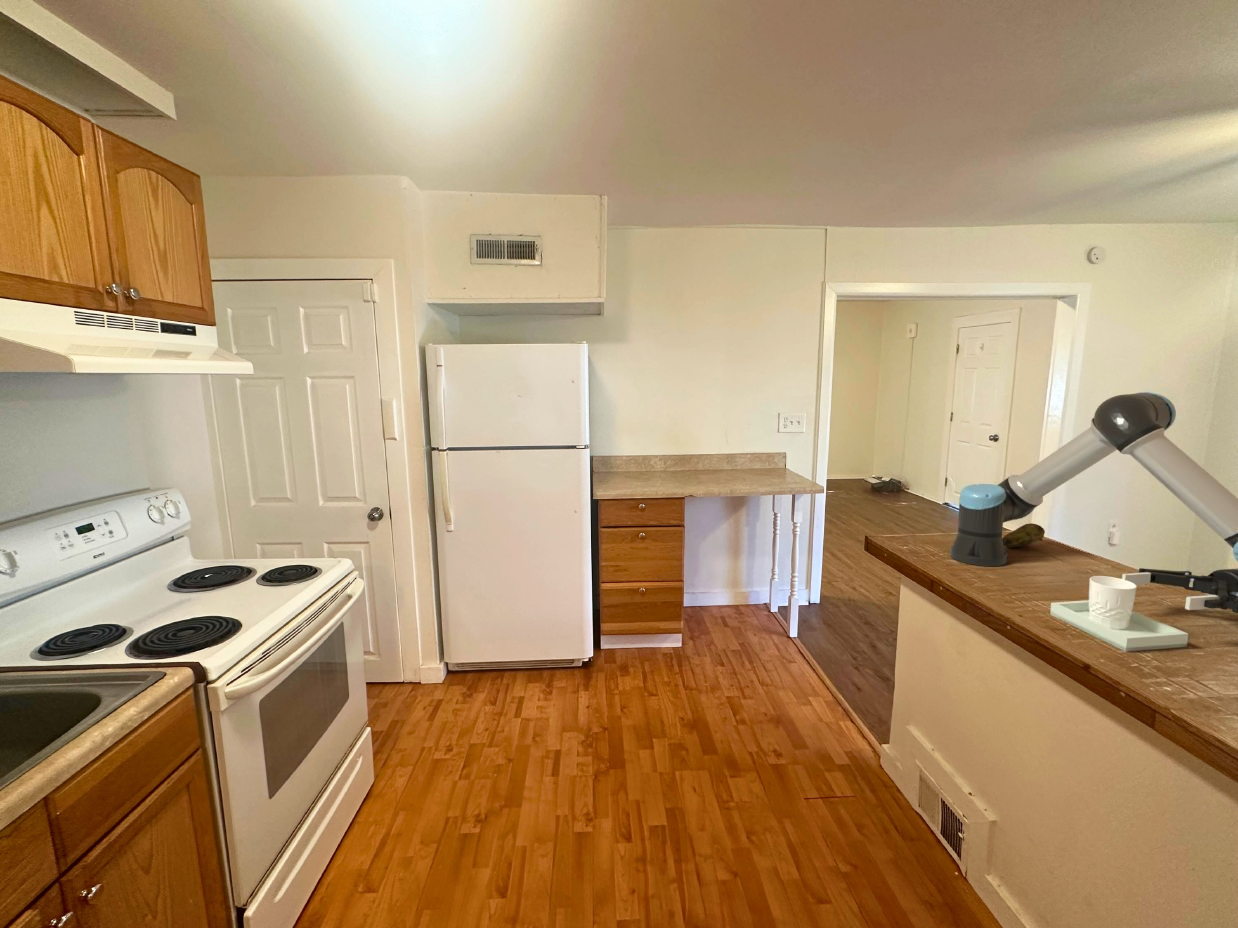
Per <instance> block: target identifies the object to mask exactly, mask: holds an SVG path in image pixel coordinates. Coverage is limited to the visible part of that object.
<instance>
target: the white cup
mask: <svg viewBox="0 0 1238 928" xmlns="http://www.w3.org/2000/svg"><path fill="white" fill-rule="evenodd" d="M1088 585H1089V586H1088V587H1089V588H1088V600H1089V619H1092V620H1094V621H1096V622H1098V623H1100V624H1102V625H1104V626H1107V627H1109V628H1111V629H1126V628H1128V627H1129V621H1130V616H1131V614H1132V611H1133V609H1134V604H1135V598H1136V593H1137V589H1138V588H1137V587H1138V585H1135V584H1134V583H1132V582H1129V581H1127V580H1123V579H1122V578H1117V577H1114V576H1106V575H1105V576H1104V575H1093V576H1091V577H1090V578H1089V583H1088Z"/></svg>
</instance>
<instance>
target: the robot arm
mask: <svg viewBox="0 0 1238 928" xmlns="http://www.w3.org/2000/svg"><path fill="white" fill-rule="evenodd" d="M1176 415H1177V411H1176V408H1175V405H1174V403H1172V401H1171V400H1170V399H1168V397H1166V396H1164V395H1162V394H1158V393H1154V392H1149V391H1143V392H1142V391H1141V392H1136V393H1129V394H1128V393H1127V394H1119V395H1115V396H1112V397H1109V398H1107V399H1106V400H1104V401H1102V402H1101V403H1100V405H1098V406H1097V408H1096V410H1095V412H1094V416H1093V418H1091V421H1090V427H1088V428H1087V429H1086V430H1083V432H1081V433H1080V434H1079V435H1076V437H1074V438H1073V439H1071V440H1070V441H1068V442H1067V443H1065V444H1064V445H1062V446H1061V447H1060V448H1057V450H1055V451H1054V452H1052V453H1051V454H1050V455H1047V457H1044V458H1043V459H1042V460H1040V461H1039V462H1037V463H1036V464H1035V465H1033V466H1031V467H1030V468H1029V469H1028V470H1026V471H1024V472H1023V473H1021V474H1020V475H1018V474H1011V475H1010V476H1008V477H1006V478H1005V479H1003V480H1002V481H1001V482H999V483H998V484H991V483H979V484H978V483H977V484H970V485H966V486H964V487H963V488H962V489H961V490H960V496H959V499H958V501H959V502H958V503H959V504H958V506H959V507H958V521H957V522H958V524H957V533H956V535H955V538H954V540H953V542H952V545H951V546H950V549H949V556H950V557H951V558H952V559H953V560H955V561H957V562H961V563H963V564H969V565H974V566H980V567H981V566H982V567H1001V566H1004V565H1007V563H1008V553H1007V551H1006V546H1004V543H1003V540H1002V538H1003V527H1004V523H1007V522H1010V521H1016V520H1020V519H1023V518H1026V517H1027V516H1028V515H1030V514H1031V513H1033V511H1034V510H1035V508H1037V507H1038V506H1040V505H1042V503H1044V502H1043V501H1044V496H1046V495H1047V494H1049V493H1051V492H1052V491H1054V490H1057V488H1058V487H1060V486H1062V485H1063V484H1065V483H1066V482H1068V481H1070V480H1071V479H1073V478H1075V477H1076V476H1078V475H1080V474H1081V473H1082V472H1084V471H1086V470H1088V469H1089V468H1090V467H1093V466H1095V464H1097V463H1099V462H1100V461H1102V460H1103V459H1105V458H1107V457H1108V456H1109V455H1111V454H1112V453H1114V452H1116V451H1118V452H1119V453H1120V454H1122V455H1130V456H1131V457H1132V458H1133V459H1134V460H1135V461H1137V463H1139V464H1140V465H1141V466H1142V467H1143V468H1144V469H1145V470H1146V471H1147V472H1149V474H1150V475H1152V476H1153V477H1154V478H1155V479H1156V480H1157V481H1158V482H1159V483H1161V484H1162V486H1163V487H1165V488H1166V490H1168V491H1170V492H1171V494H1172V495H1174V496H1175V497H1176V498H1177V499H1178V500H1179V501H1181V502H1182V504H1184V505H1185V506H1186V507H1187V508H1188V509H1189V510H1190V511H1191V512H1192V513H1194V514H1195V515H1196V516H1197V517H1198V518H1199V519H1200V520H1201V521H1203V523H1205V524H1206V525H1207V526H1208V527H1209V528H1210V529H1211V530H1212V531H1214V532H1215V534H1216V535H1218V536H1220V538H1221V539H1222V540H1224V542H1226V543H1227V545H1229V546H1230V547H1231V548H1232V554H1233V556H1234V559H1235V560H1236V561H1237V562H1238V497H1237V496H1235V495H1234V494H1233V493H1232V492H1231V491H1230V490H1229V489H1227V488H1226V487H1225V486H1224V485H1223V484H1222V483H1220V482H1219V481H1218V480H1217V479H1216V478H1215V477H1213V476H1212V475H1211V474H1210V473H1209V472H1207V470H1205V468H1203V467H1202V466H1201V465H1199V464H1198V463H1197V462H1196V461H1195V460H1193V459H1192V458H1191V457H1190V456H1189V455H1188V454H1187V453H1186V452H1184V451H1183V450H1182V449H1181V448H1180V447H1179V446H1177V445H1176V444H1175V443H1174V442H1172V441H1171V440H1170V439H1169V438H1168V437H1167V436H1165V431H1166V430H1168V429H1169V428H1170V427H1172V426H1173V423H1174V422H1175V420H1176ZM1121 579H1123V580H1127V581H1129V582H1132V583H1134V584H1135V585H1136V586H1141V585H1142V586H1143V585H1144V586H1148V585H1151V584H1159V585H1166V586H1171V587H1179V588H1184V590H1186V591H1194V592H1200V593H1201V594H1206V595H1194V596H1193V595H1192V596H1186V599H1185V606H1184V609H1185V610H1188V611H1194V610H1195V611H1196V610H1210V609H1220V610H1223V611H1225V610H1226V611H1227V610H1228V609H1229V610H1231V612H1232V613H1235V614H1238V568H1226V569H1225V568H1224V569H1217V570H1214V571H1212V572H1211V573H1209V574H1208V575H1194V574H1193V572H1192V571H1190V570H1182V571H1181V570H1180V571H1179V570H1166V569H1154V568H1143V567H1140V568H1139V569H1138V572H1135V573H1133V572H1132V573H1122V576H1121ZM1191 582H1192V586H1190V584H1191ZM1207 594H1208V595H1207Z"/></svg>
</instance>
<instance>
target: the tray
mask: <svg viewBox="0 0 1238 928" xmlns="http://www.w3.org/2000/svg"><path fill="white" fill-rule="evenodd" d="M1049 615H1051V616H1053V617H1054V618H1055V619H1058V620H1061V621H1063V622H1064V623H1067V624H1069V625H1071V626H1073V627H1075V628H1077V629H1079V630H1081V631H1083V632H1085V633H1087V634H1089V635H1091V636H1093V637H1095V638H1097V639H1099V640H1101V641H1104V642H1105V643H1107V644H1109V645H1111V646H1113V647H1115V648H1118V649H1119V650H1121V651H1124V652H1126V653H1127V652H1137V651H1139V652H1140V651H1152V650H1162V649H1176V648H1187V647H1188V646H1187V645H1188V640H1189V639H1188V638H1189V633H1187V632H1186V631H1183V630H1180V629H1178V628H1176V627H1173V626H1171V625H1170V624H1166V623H1163V622H1162V621H1159V620H1156V619H1154V618H1152V617H1150V616H1146V615H1144V614H1141V613H1139V612H1137V611H1136V610H1132V614H1131V616H1130V621H1129V627H1128V628H1126V629H1111V628H1109V627H1107V626H1104V625H1102V624H1100V623H1098V622H1096V621H1094V620H1092V619H1089V599H1087V600H1075V601H1074V600H1073V601H1060V602H1059V601H1057V602H1056V601H1055V602H1051V603H1050V613H1049Z"/></svg>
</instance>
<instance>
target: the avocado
mask: <svg viewBox="0 0 1238 928" xmlns="http://www.w3.org/2000/svg"><path fill="white" fill-rule="evenodd" d="M1045 533H1046V531H1045V529H1044V527H1042V526H1041V525H1039V524H1036V523H1031V522H1029V523H1026V524H1023V525H1021V526H1019V527H1017V528H1016V529H1015V530H1013V531H1011V532H1009V533H1007V534H1005V535H1004V536H1002V540H1003V543H1004V547H1005V548H1008V549H1009V548H1010V549H1011V548H1012V549H1013V548H1019V547H1020V548H1022V547H1025V546H1026V547H1027V546H1028V545H1031V544H1033V543H1037V542H1042V541H1043V539H1044V537H1045Z"/></svg>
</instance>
